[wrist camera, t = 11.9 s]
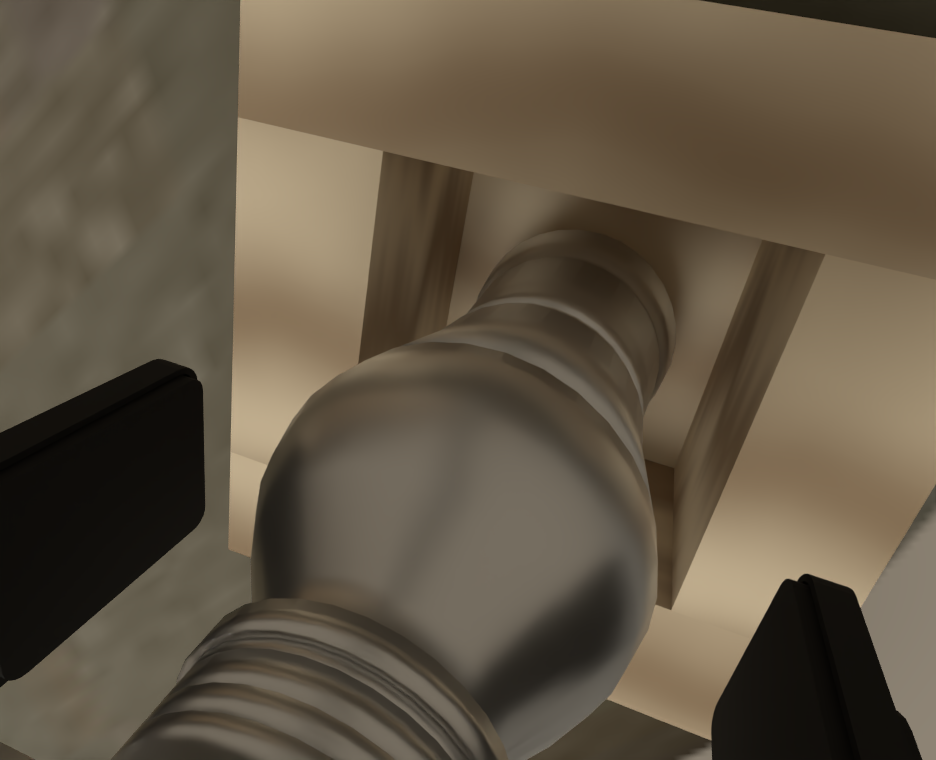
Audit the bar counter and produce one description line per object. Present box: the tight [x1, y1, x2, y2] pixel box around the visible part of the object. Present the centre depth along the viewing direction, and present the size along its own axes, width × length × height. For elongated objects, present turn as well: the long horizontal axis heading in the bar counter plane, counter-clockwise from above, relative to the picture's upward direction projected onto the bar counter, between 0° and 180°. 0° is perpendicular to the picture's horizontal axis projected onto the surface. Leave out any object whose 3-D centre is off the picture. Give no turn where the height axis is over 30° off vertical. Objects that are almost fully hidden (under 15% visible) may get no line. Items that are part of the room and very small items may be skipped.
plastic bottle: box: [111, 230, 676, 760], centre depth 14 cm, size 6×7×20 cm
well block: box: [229, 0, 936, 740], centre depth 20 cm, size 18×18×9 cm
